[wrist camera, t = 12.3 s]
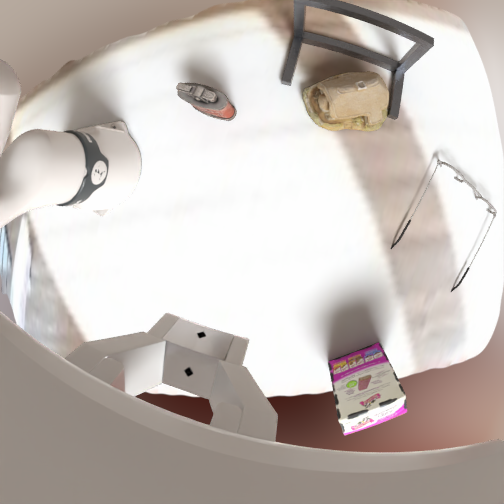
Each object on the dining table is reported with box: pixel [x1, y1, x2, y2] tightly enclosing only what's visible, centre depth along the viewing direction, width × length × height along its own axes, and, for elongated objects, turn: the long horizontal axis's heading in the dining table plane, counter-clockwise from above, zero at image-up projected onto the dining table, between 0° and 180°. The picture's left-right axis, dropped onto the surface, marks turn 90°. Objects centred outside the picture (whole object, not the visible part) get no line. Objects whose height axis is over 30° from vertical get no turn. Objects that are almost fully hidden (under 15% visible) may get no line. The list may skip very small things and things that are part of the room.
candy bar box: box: [328, 343, 407, 435], centre depth 41 cm, size 11×5×16 cm, turn 114°
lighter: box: [176, 83, 237, 121], centre depth 37 cm, size 8×3×10 cm, turn 65°
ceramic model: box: [302, 71, 389, 131], centre depth 34 cm, size 14×11×10 cm
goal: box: [282, 0, 434, 120], centre depth 31 cm, size 20×11×14 cm, turn 76°
